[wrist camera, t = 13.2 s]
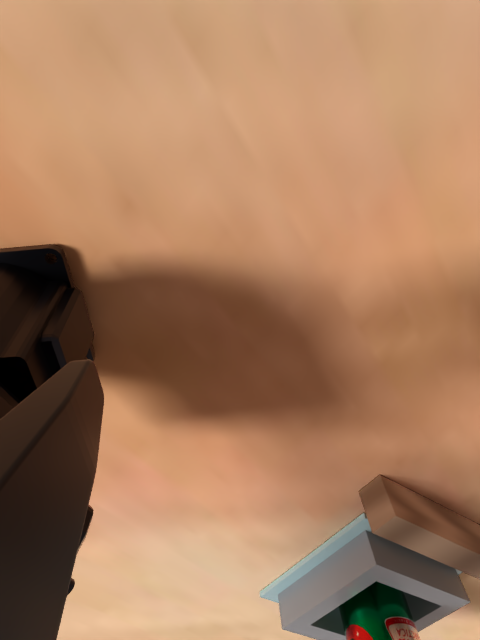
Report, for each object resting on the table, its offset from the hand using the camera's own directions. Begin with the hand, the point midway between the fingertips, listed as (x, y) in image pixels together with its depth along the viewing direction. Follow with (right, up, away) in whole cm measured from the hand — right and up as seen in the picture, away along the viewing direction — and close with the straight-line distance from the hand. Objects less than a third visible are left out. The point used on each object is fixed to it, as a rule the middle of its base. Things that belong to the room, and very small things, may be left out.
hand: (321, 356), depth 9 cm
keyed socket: (+8, -20, +28) cm, 35 cm away
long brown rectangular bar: (+13, -14, +24) cm, 31 cm away
